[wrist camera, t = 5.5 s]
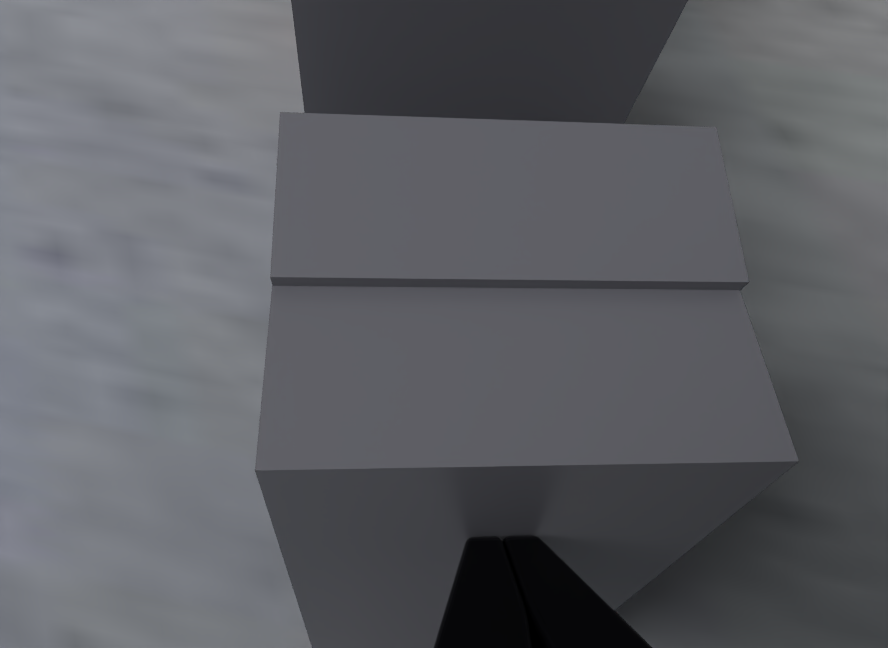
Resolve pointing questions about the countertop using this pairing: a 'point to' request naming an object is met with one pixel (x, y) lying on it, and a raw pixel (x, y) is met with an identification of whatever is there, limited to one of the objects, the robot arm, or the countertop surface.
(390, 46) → the domino
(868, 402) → the countertop surface
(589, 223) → the domino
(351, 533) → the domino
